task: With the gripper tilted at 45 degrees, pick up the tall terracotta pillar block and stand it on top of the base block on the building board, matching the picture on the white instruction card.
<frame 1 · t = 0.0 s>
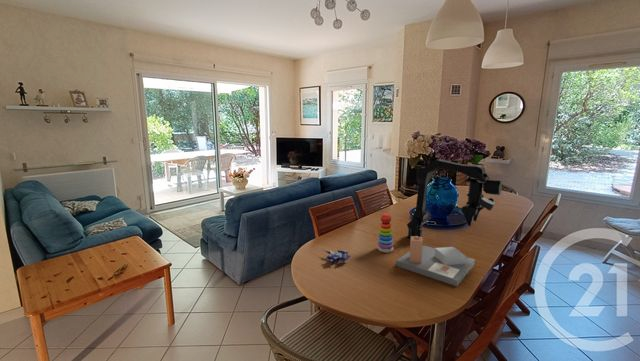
hand: (472, 223, 145), 15 cm above the table, tool pointing down, fingers open, 9 cm apart
stacking toy: (385, 250, 151), on the table
toy airplane: (335, 260, 140), on the table
base block: (449, 259, 134), point 2 cm above the table, touching building board
building board: (435, 265, 135), on the table
pillar block: (415, 259, 135), point 2 cm above the table, touching building board
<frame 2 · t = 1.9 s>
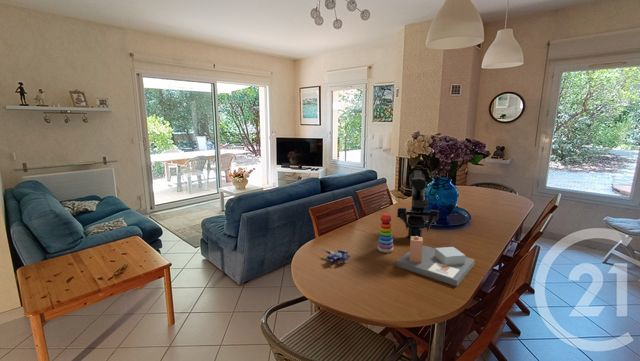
hand: (417, 230, 140), 13 cm above the table, tool tilted 45°, fingers open, 9 cm apart
nothing on the table moved.
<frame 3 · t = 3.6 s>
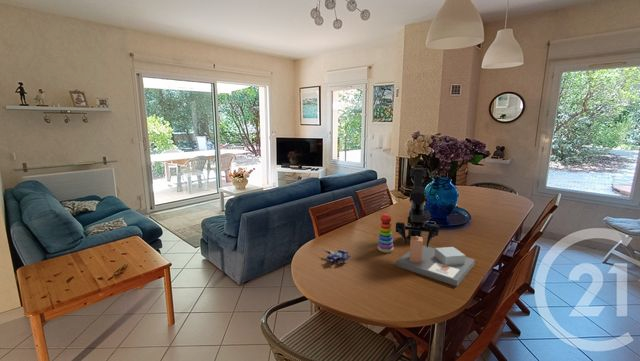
hand: (416, 246, 134), 9 cm above the table, tool tilted 45°, fingers open, 9 cm apart
nothing on the table moved.
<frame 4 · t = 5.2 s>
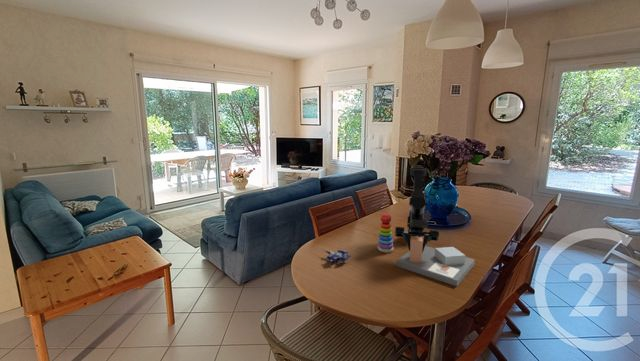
hand: (416, 251, 133), 7 cm above the table, tool tilted 45°, fingers closed on pillar block, 5 cm apart
pillar block: (415, 259, 135), point 2 cm above the table, touching building board, gripper
everything else where it was.
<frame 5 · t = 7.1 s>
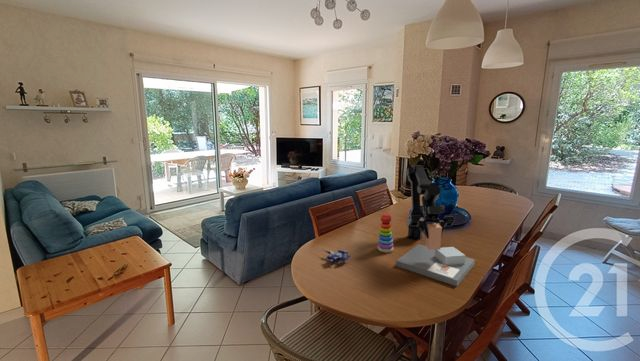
hand: (434, 238, 130), 13 cm above the table, tool tilted 45°, fingers closed on pillar block, 5 cm apart
pillar block: (432, 247, 132), point 9 cm above the table, touching gripper
everything else where it was.
when the fingers open (12 cm above the table, at t = 9.1 s): pillar block drops 1 cm, resting on base block.
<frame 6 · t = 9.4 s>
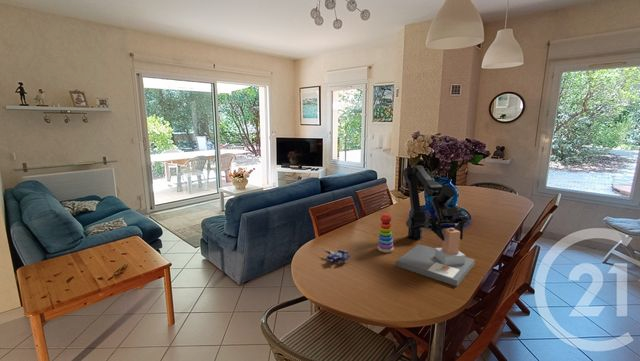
hand: (452, 239, 131), 13 cm above the table, tool tilted 45°, fingers open, 8 cm apart
base block: (449, 259, 134), point 2 cm above the table, touching building board, pillar block
pillar block: (449, 251, 133), point 6 cm above the table, touching base block
everything else where it was.
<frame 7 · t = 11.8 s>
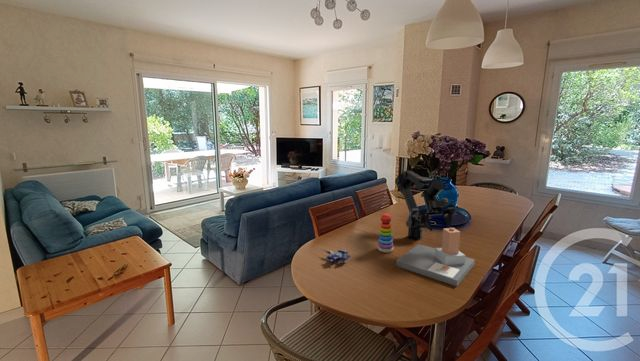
hand: (441, 229, 140), 14 cm above the table, tool tilted 45°, fingers open, 9 cm apart
nothing on the table moved.
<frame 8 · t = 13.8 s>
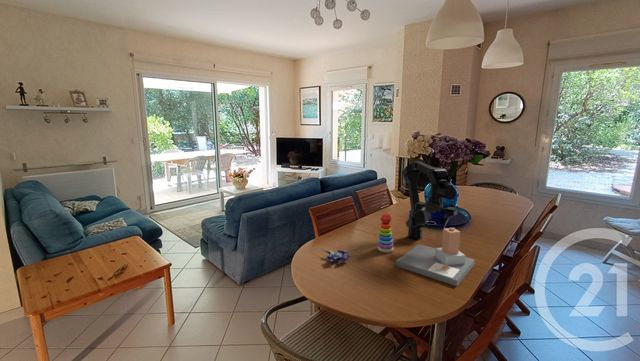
hand: (434, 225, 148), 13 cm above the table, tool pointing down, fingers open, 9 cm apart
nothing on the table moved.
at the end: pillar block 0.0 cm from the base block (horizontally); pillar block point 6.5 cm above the table; pillar block tilted 0° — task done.
